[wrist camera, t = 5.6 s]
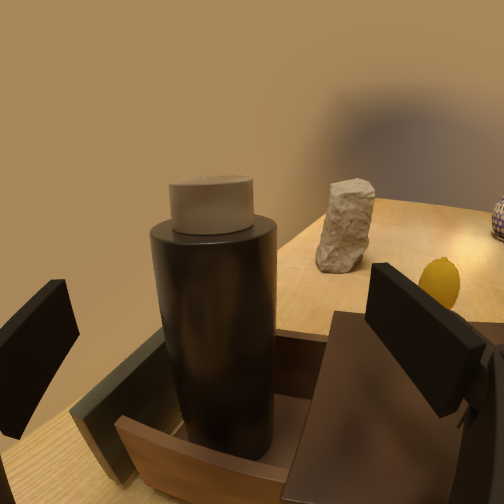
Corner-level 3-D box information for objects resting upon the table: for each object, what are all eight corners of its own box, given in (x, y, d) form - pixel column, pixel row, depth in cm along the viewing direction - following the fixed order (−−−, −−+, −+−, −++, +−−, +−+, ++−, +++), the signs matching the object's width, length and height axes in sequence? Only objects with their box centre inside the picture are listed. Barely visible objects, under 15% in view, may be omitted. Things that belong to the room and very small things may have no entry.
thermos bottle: (173, 451, 17) (117, 189, 12) (209, 399, 22) (187, 174, 17) (257, 477, 15) (251, 187, 10) (282, 416, 20) (289, 174, 15)
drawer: (95, 470, 15) (54, 401, 13) (184, 368, 27) (173, 302, 25) (318, 549, 10) (345, 505, 8) (350, 401, 22) (366, 329, 20)
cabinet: (271, 554, 11) (278, 498, 8) (321, 400, 24) (333, 310, 21) (501, 548, 6) (592, 471, 3) (480, 408, 19) (518, 323, 16)
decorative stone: (307, 254, 59) (309, 176, 55) (352, 252, 60) (356, 177, 55) (322, 274, 49) (325, 182, 45) (373, 271, 50) (380, 183, 45)
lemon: (407, 307, 38) (417, 249, 35) (442, 305, 37) (453, 250, 35) (420, 328, 33) (434, 265, 30) (458, 326, 32) (473, 265, 29)
